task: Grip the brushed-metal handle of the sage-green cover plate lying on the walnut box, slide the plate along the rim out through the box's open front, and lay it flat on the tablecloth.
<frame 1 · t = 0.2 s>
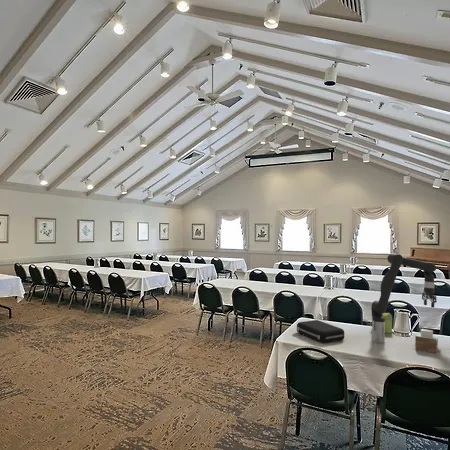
hand: (429, 306, 297), 29 cm above the table, tool pointing down, fingers open, 8 cm apart
protein box: (381, 331, 324), on the table
briefcase: (322, 336, 306), on the table
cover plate: (426, 338, 277), point 8 cm above the table, touching walnut box
walnut box: (426, 348, 276), on the table
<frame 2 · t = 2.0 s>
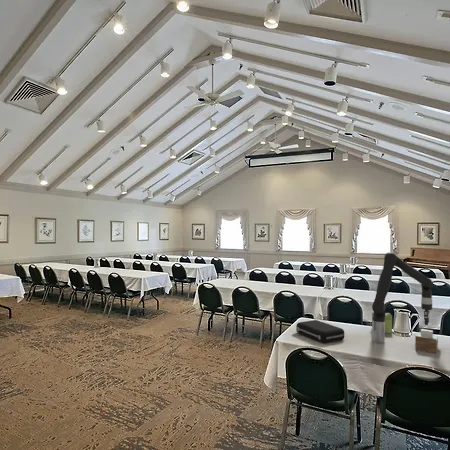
hand: (426, 323, 277), 19 cm above the table, tool pointing down, fingers open, 8 cm apart
nothing on the table moved.
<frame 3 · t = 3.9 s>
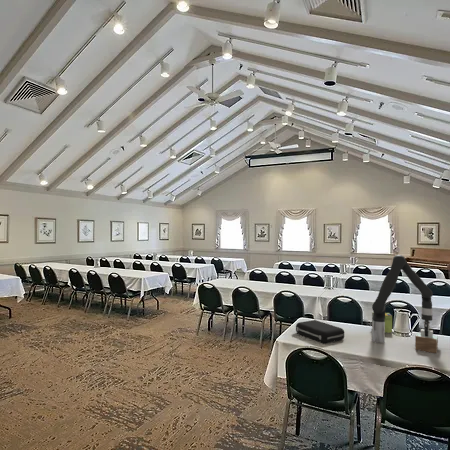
hand: (426, 335, 277), 10 cm above the table, tool pointing down, fingers closed on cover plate, 4 cm apart
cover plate: (426, 338, 277), point 8 cm above the table, touching gripper, walnut box
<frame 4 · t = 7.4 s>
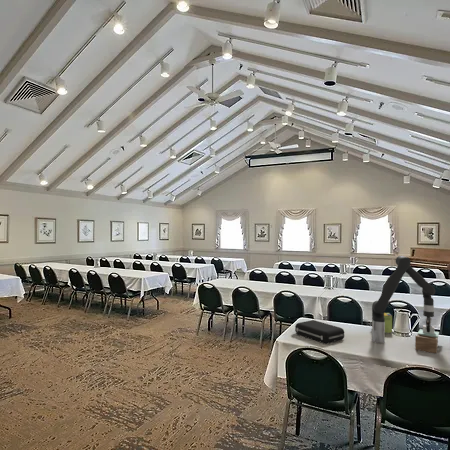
hand: (428, 331, 289), 10 cm above the table, tool pointing down, fingers closed on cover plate, 4 cm apart
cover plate: (428, 333, 289), point 8 cm above the table, touching gripper
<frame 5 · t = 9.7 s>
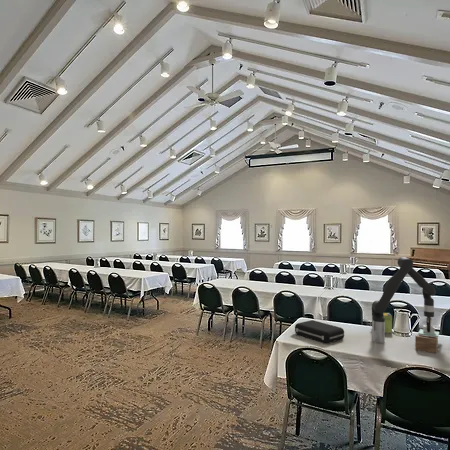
hand: (428, 331, 293), 9 cm above the table, tool pointing down, fingers closed on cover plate, 4 cm apart
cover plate: (428, 333, 293), point 7 cm above the table, touching gripper
when the fingers open (3 cm above the table, at t = 11.3 s): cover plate drops 2 cm, on the table.
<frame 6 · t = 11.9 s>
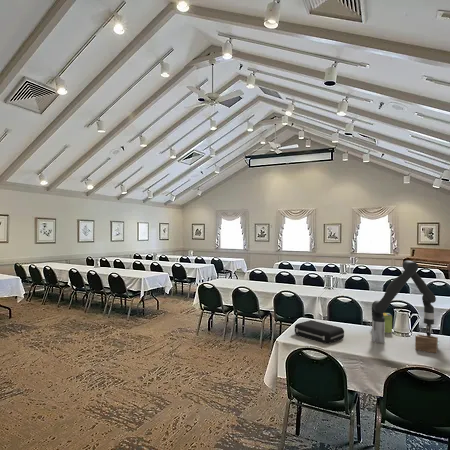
hand: (428, 337, 293), 4 cm above the table, tool pointing down, fingers open, 8 cm apart
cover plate: (428, 342, 293), on the table
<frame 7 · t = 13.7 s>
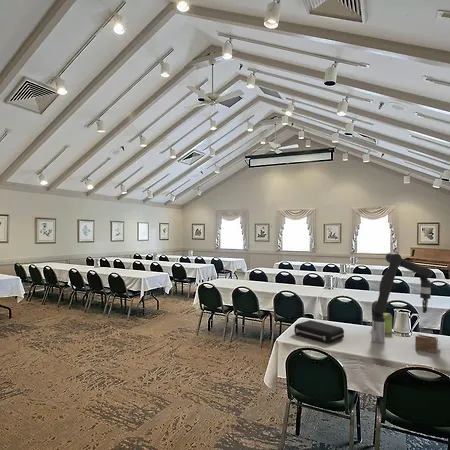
hand: (424, 311, 295), 25 cm above the table, tool pointing down, fingers open, 8 cm apart
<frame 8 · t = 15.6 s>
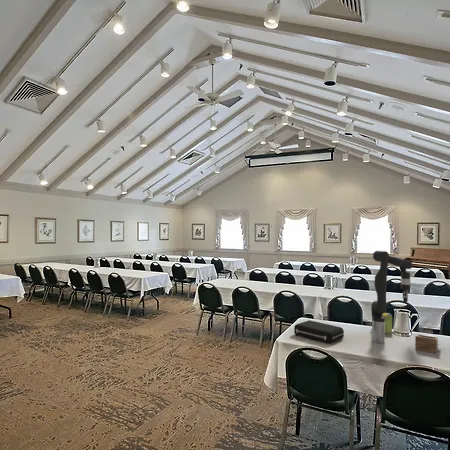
hand: (405, 302, 306), 30 cm above the table, tool pointing down, fingers open, 8 cm apart
at the end: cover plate on the table; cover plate touching table; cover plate tilted 0° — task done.
